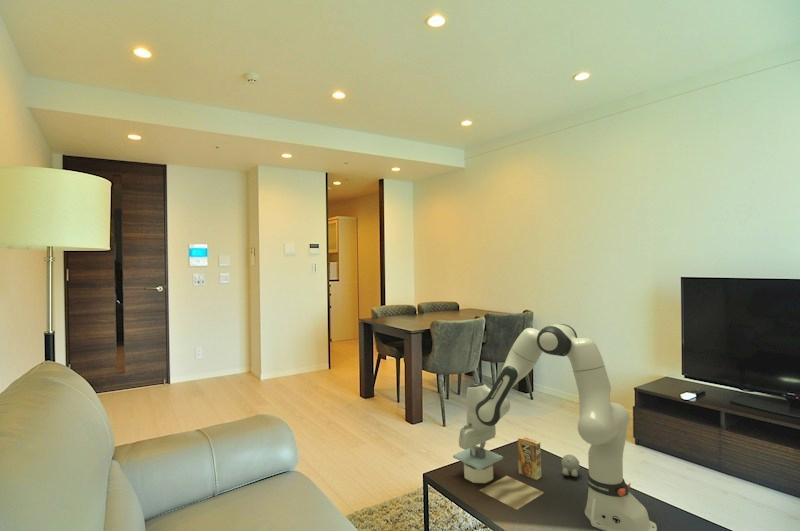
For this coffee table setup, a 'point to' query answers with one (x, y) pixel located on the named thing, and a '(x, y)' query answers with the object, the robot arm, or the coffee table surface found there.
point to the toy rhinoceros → (570, 465)
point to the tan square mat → (511, 492)
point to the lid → (478, 457)
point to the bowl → (478, 474)
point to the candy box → (529, 458)
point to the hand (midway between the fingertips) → (477, 453)
